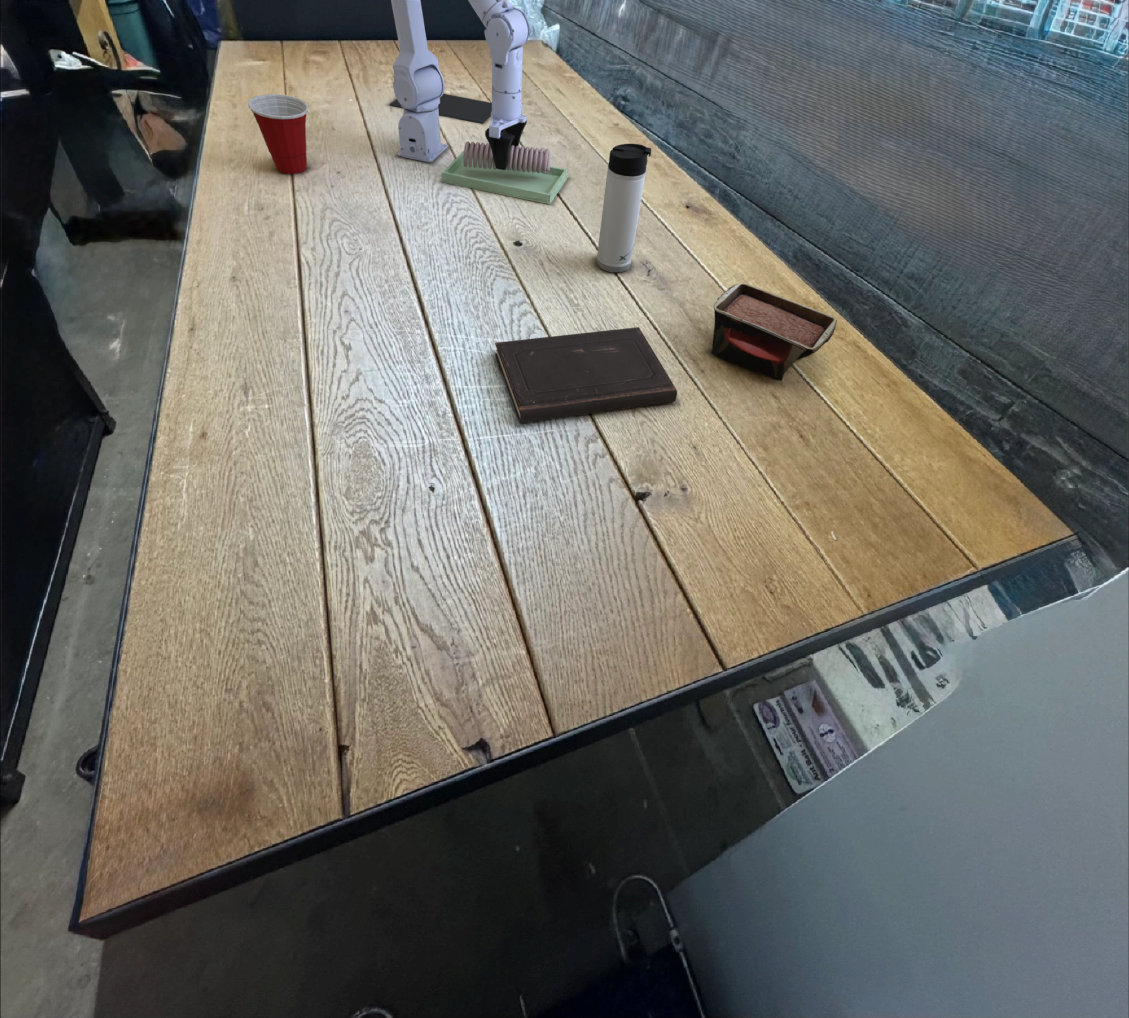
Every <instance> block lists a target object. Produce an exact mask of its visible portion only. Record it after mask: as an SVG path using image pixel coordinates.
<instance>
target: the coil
mask: <svg viewBox="0 0 1129 1018" xmlns="http://www.w3.org/2000/svg"><path fill="white" fill-rule="evenodd" d="M463 151H464V158H463V165H464V167H467V156H468V166H469V167H472V157H473V166H474V168H476V167H477V157H478V167H479V168H482V158H483V168H484V169H486V168H487V158H488V168H489V169H491V168H492V158H493V154H492V150H491V147H490V145H489V142H487V143H485V142H481V143H480V142H479V141H477V142H476V143H475V141H471V142H470V141H466V142H465V144H464V149H463ZM550 161H551V160H550V149H549V148H543V147H541V148H539V147H536V148H535V147H533V146H532V147H529V146H520V145H519V146H516V148H515V147H514V146H513V145H512V146H511V147H510V151H509V157H508V164H507V168H508V170H509V171H511V168H512V169H513V171H516V168H517V170H518V171H519V172H520V171H521V168H522V171H523V172H525V171H526V168H527V172H531V168H532V172H533V173H535V172H536V170H537V173H540V172H541V171H542V173H543V174H545V172H546V173H547V174H549V173H550V166H551V165H550ZM493 169H496V167H495V163H494V158H493ZM499 170H501V169H499Z"/></svg>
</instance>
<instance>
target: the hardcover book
mask: <svg viewBox="0 0 1129 1018" xmlns="http://www.w3.org/2000/svg"><path fill="white" fill-rule="evenodd" d="M494 345H495V348H496V352H495V353H494V356H495V358H496V361H497V365H498V367H499V369H500V373H501V375H502V379H503V381H504V384H505V386H506V389H507V393H508V395H509V398H510V401H511V403H512V406H513V409H514V412H515V415H516V417H517V421H518V423H519V424H525V423H533V422H540V421H546V420H553V419H561V418H569V417H575V416H576V417H577V416H584V415H589V414H598V413H605V412H610V411H612V412H613V411H618V410H626V409H633V408H639V407H647V406H655V405H662V404H668V403H669V404H670V403H675V402H676V400H677V397H678V390H677V388H676V386H675V385H674V383H673V381H672V380H671V378H670V376H669V374H668V373H667V371H666V370H665V368H664V367H663V364H662V363H661V361H660V360H659V358H658V356H657V355H656V352H655V351H654V349H653V348H652V346H651V345H650V343H649V342H648V339H647V338H646V336H645V334H644V333H643V332H642V330H641V328H640V327H639V326H636V327H626V328H618V329H617V328H616V329H610V330H607V329H606V330H600V331H599V330H598V331H589V332H581V333H573V334H562V335H553V336H544V337H533V338H526V339H525V338H524V339H516V340H507V341H506V340H505V341H498V342H494Z"/></svg>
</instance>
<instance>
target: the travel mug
mask: <svg viewBox="0 0 1129 1018" xmlns="http://www.w3.org/2000/svg"><path fill="white" fill-rule="evenodd" d="M651 156H652V148H651V147H647V146H646V145H643V144H640V143H622V144H621V143H620V144H618V145H617V144H616V145H615V146H613V147H612V149H611V150H610V151H609V158H608V164H607V171H606V180H605V187H604V195H603V204H602V210H601V211H602V212H601V219H600V228H599V237H598V244H597V253H596V259H595V260H596V264H597V266H598V267H599V268H600V269H602V270H603V271H605V272H608V273H623V272H625V271H628V270H629V269H630V268H631V266H632V258H633V253H634V247H635V241H636V235H637V229H638V223H639V216H640V211H641V206H642V205H641V204H642V199H643V193H644V187H645V180H646V174H647V165H648V157H651Z"/></svg>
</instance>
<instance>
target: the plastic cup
mask: <svg viewBox="0 0 1129 1018" xmlns="http://www.w3.org/2000/svg"><path fill="white" fill-rule="evenodd" d="M247 106H248V108H249V109H250V111H251V113H252V114H253V116H254V118H255V121H256V123H257V125H258V127H259V130H260V132H261V135H262V138H263V139H264V140H263V141H264V142H265V145H266V147H267V151H268V152H269V154H270V157H271V158H272V161H273V163H274V166H275V167H276V169H277V171H278V172H280V173H282V174H286V175H297V174H300V173H303V172H305V171H306V170H307V164H308V161H307V128H306V127H307V126H306V123H307V114H309V104H308V103H307V102H306V101H304V100H303V99H300V98H298V97H297V96H296V97H295V96H292V95H287V94H279V93H269V94H267V93H265V94H264V93H263V94H259V95H256V96H253V97H252V98H250V99H249V100H248V102H247Z"/></svg>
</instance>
